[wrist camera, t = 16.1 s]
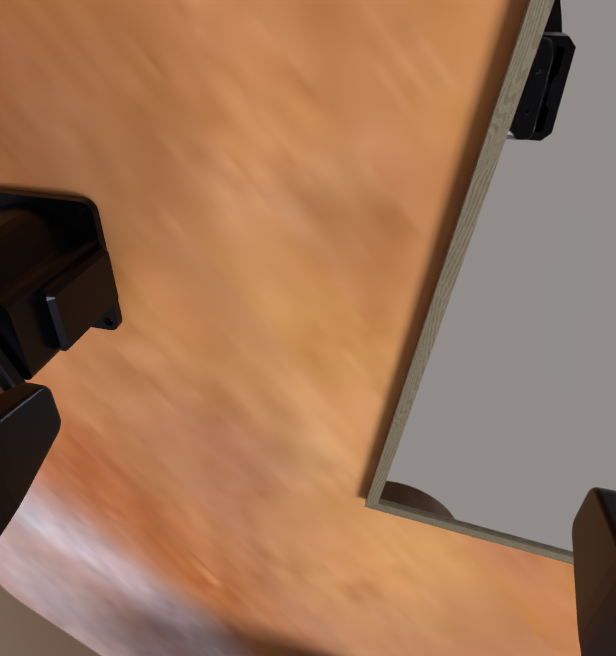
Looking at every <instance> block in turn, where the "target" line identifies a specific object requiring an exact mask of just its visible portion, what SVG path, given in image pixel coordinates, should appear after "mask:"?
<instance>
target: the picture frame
mask: <svg viewBox="0 0 616 656" xmlns="http://www.w3.org/2000/svg"><path fill="white" fill-rule="evenodd" d="M593 487H600V488H605V489H611V490H616V0H528V2H527V5H526V8H525V11H524V14H523V17H522V20H521V24H520V27H519V30H518V33H517V36H516V39H515V42H514V45H513V48H512V51H511V54H510V57H509V60H508V64H507V67H506V70H505V73H504V76H503V79H502V82H501V85H500V88H499V91H498V94H497V97H496V101H495V104H494V107H493V110H492V113H491V116H490V119H489V122H488V125H487V128H486V131H485V134H484V137H483V141H482V144H481V147H480V150H479V153H478V156H477V159H476V162H475V165H474V168H473V171H472V174H471V177H470V181H469V184H468V187H467V190H466V193H465V196H464V199H463V202H462V205H461V208H460V211H459V214H458V217H457V221H456V224H455V227H454V230H453V233H452V236H451V239H450V242H449V245H448V248H447V251H446V254H445V257H444V261H443V264H442V267H441V270H440V273H439V276H438V279H437V282H436V285H435V288H434V291H433V294H432V297H431V301H430V304H429V307H428V310H427V313H426V316H425V319H424V322H423V325H422V328H421V331H420V334H419V338H418V341H417V344H416V347H415V350H414V353H413V356H412V359H411V362H410V365H409V368H408V371H407V374H406V378H405V381H404V384H403V387H402V390H401V393H400V396H399V399H398V402H397V405H396V408H395V411H394V414H393V418H392V421H391V424H390V427H389V430H388V433H387V436H386V439H385V442H384V445H383V448H382V451H381V454H380V458H379V461H378V464H377V467H376V470H375V473H374V476H373V479H372V482H371V485H370V488H369V491H368V494H367V498H366V503H365V507H367V508H371V509H375V510H378V511H382V512H385V513H389V514H393V515H396V516H400V517H404V518H407V519H411V520H414V521H418V522H422V523H425V524H429V525H432V526H436V527H440V528H443V529H447V530H450V531H454V532H458V533H461V534H465V535H469V536H472V537H476V538H479V539H483V540H487V541H490V542H494V543H497V544H501V545H505V546H508V547H512V548H515V549H519V550H523V551H526V552H530V553H533V554H537V555H541V556H544V557H548V558H552V559H555V560H559V561H562V562H566V563H570V564H573V565H574V562H573V546H572V525H573V521H574V518H575V516H576V514H577V512H578V510H579V509H580V507H581V505H582V503H583V501H584V499H585V497H586V495H587V493H588V492H589V490H590V489H591V488H593Z"/></svg>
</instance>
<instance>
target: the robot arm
mask: <svg viewBox="0 0 616 656" xmlns="http://www.w3.org/2000/svg"><path fill="white" fill-rule="evenodd" d="M82 208H84V209H85V210H86V211H87V213H88V215H87V214H85V213H84V212H83V210H82ZM109 318H111V319H112V321H111V320H110V319H109ZM121 323H122V315H121V311H120V306H119V302H118V293H117V289H116V284H115V280H114V275H113V270H112V266H111V261H110V257H109V253H108V251H107V248H106V243H105V239H104V234H103V230H102V225H101V221H100V216H99V212H98V209H97V206H96V205H95V204H94V203H93V202H92V201H91V200H89V199H86V198H79V197H70V196H61V195H52V194H43V193H35V192H26V191H17V190H8V189H0V536H1V534H2V533H3V531H4V530H5V528H6V527H7V525H8V524H9V522H10V521H11V519H12V517H13V516H14V514H15V513H16V511H17V509H18V508H19V506H20V504H21V502H22V501H23V499H24V497H25V495H26V493H27V492H28V490H29V488H30V486H31V484H32V482H33V480H34V478H35V476H36V474H37V472H38V471H39V469H40V467H41V465H42V463H43V461H44V459H45V457H46V455H47V453H48V452H49V450H50V448H51V446H52V444H53V442H54V440H55V438H56V436H57V434H58V432H59V429H60V425H61V419H60V415H59V412H58V409H57V407H56V404H55V401H54V398H53V395H52V392H51V390H50V389H49V388H48V387H47V386H44V385H39V384H33V383H26V381H25V380H24V379H26V380H30V379H31V378H32V377H33V376H34V375H35V374H36V373H37V372H38V371H39V370H40V369H41V368H43V367H44V366H45V365H46V364H47V363H48V362H49V361H50V360H51V359H52V358H53V357H54V356H55V355H56V354H57V353H58V352H59V351H60V350H61V351H67V350H68V349H69V348H70V347H71V346H72V345H73V344H74V343H75V342H76V341H77V340H78V339H79V338H80V337H81V336H82V335H83V334H84V333H85V332H86V331H87V330H88V329H89V328H90V327H95V328H101V329H107V330H115V329H117V328H118V326H119V325H120V324H121ZM572 546H573V562H574V578H575V593H576V609H577V624H578V635H579V642H580V649H581V656H616V490H611V489H605V488H600V487H593V488H591V489H590V490H589V492H588V493H587V495H586V497H585V499H584V501H583V503H582V505H581V507H580V509H579V510H578V512H577V514H576V516H575V518H574V521H573V525H572Z"/></svg>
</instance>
